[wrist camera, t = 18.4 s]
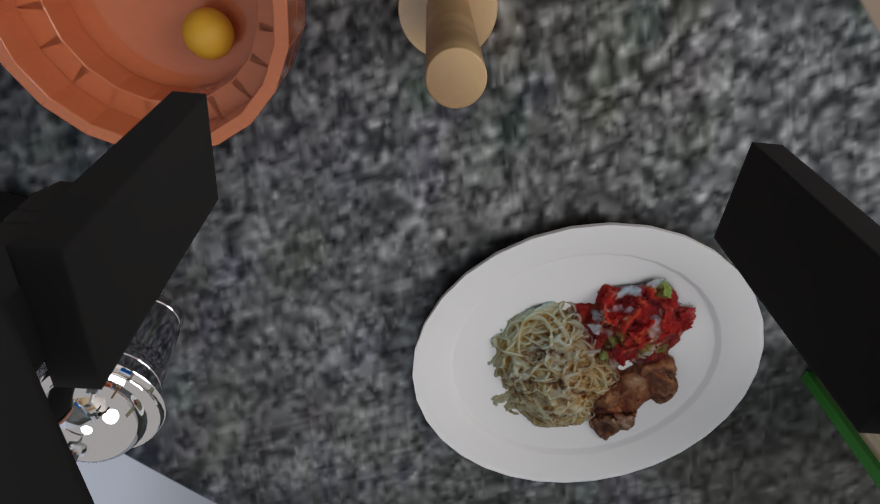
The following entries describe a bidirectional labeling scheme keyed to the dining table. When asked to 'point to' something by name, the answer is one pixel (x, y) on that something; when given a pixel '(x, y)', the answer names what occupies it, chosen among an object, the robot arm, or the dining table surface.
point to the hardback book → (847, 428)
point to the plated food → (587, 352)
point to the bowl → (145, 59)
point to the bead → (208, 33)
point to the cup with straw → (121, 393)
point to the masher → (450, 45)
